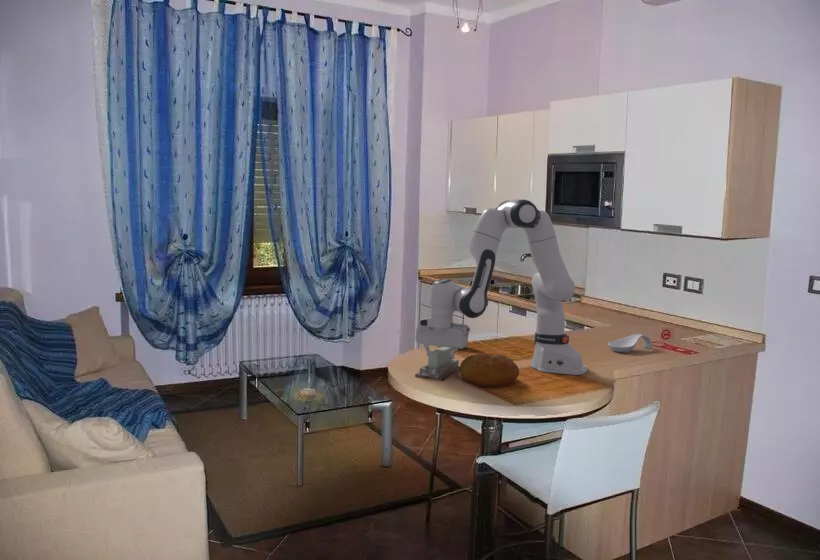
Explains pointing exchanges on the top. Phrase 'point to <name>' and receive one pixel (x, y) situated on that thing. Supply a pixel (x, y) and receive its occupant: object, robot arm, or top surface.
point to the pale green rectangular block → (439, 358)
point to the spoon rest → (629, 343)
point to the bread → (489, 370)
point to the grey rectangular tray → (439, 371)
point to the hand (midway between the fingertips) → (440, 357)
